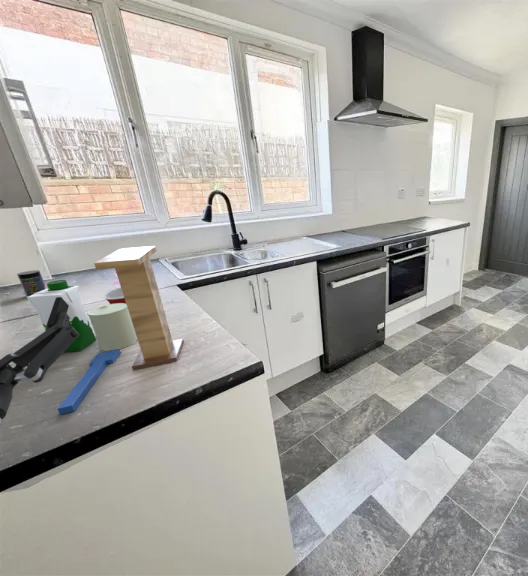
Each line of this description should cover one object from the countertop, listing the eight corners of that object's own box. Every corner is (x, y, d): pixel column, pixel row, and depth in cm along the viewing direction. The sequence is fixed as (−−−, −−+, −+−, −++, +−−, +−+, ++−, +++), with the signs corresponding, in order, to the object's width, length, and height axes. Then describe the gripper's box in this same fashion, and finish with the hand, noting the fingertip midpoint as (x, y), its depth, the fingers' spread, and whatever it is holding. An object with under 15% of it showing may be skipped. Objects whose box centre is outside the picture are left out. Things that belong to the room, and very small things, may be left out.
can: (128, 333, 101) (117, 299, 97) (144, 339, 97) (133, 304, 93) (93, 346, 93) (80, 310, 89) (109, 353, 89) (96, 316, 85)
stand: (174, 369, 81) (142, 258, 71) (127, 378, 78) (88, 263, 68) (184, 340, 96) (159, 245, 86) (145, 347, 92) (115, 248, 82)
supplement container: (49, 294, 139) (40, 271, 135) (27, 298, 134) (17, 275, 130) (47, 291, 143) (38, 269, 139) (25, 295, 138) (16, 273, 134)
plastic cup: (105, 330, 103) (93, 297, 99) (125, 317, 113) (115, 286, 109) (141, 327, 105) (130, 294, 101) (157, 314, 115) (149, 284, 111)
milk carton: (101, 338, 98) (80, 278, 92) (81, 352, 90) (56, 288, 83) (69, 341, 97) (45, 280, 90) (46, 356, 88) (17, 290, 82)
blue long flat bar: (82, 409, 67) (79, 403, 67) (51, 416, 65) (49, 410, 65) (120, 352, 90) (119, 347, 89) (99, 356, 88) (97, 351, 87)
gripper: (-144, 458, 42) (-68, 333, 55) (88, 405, 52) (108, 308, 64) (-210, 442, 37) (-109, 306, 49) (62, 386, 46) (90, 284, 59)
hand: (14, 307), depth 57 cm, fingers open, 13 cm apart
